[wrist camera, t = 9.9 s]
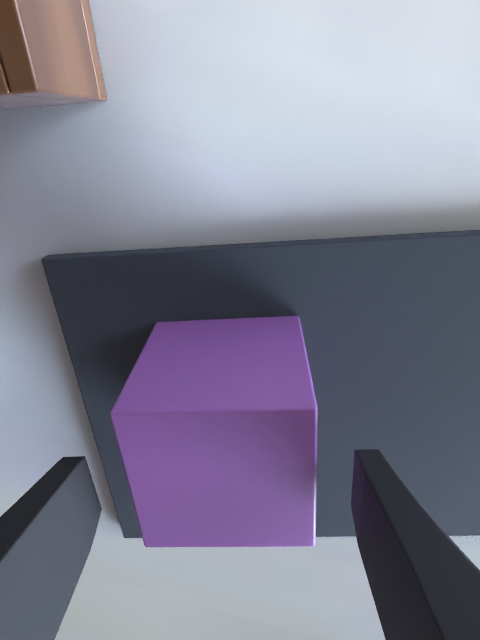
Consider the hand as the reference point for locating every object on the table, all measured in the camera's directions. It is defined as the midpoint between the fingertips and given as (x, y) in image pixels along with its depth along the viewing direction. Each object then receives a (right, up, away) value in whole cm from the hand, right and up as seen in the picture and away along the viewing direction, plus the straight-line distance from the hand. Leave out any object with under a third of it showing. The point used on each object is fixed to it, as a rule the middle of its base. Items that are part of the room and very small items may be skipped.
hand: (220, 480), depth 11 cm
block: (0, +2, +4) cm, 5 cm away
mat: (+4, +1, +5) cm, 7 cm away
